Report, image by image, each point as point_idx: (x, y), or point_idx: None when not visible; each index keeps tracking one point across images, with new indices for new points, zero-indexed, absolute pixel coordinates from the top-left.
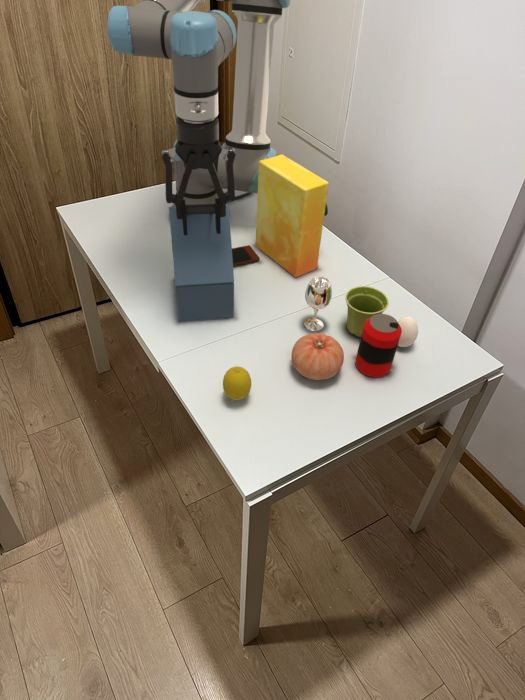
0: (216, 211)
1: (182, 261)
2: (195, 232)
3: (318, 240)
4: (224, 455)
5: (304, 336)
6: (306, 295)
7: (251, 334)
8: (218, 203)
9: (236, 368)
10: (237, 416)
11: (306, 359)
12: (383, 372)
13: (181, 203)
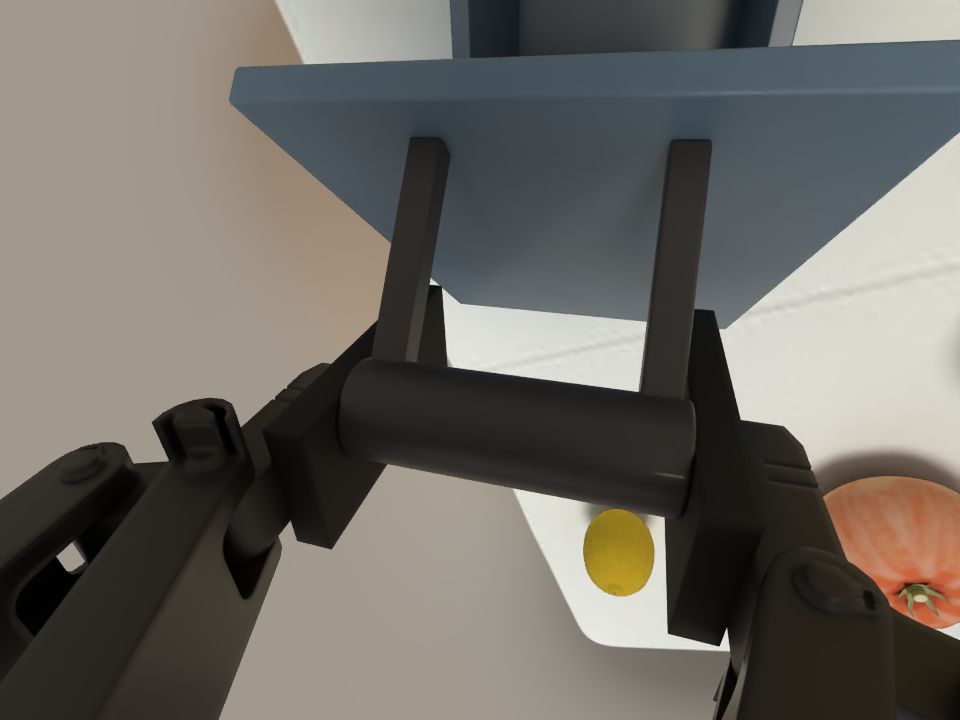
0: (667, 548)
1: (469, 277)
2: (524, 223)
3: None
4: (566, 595)
5: (892, 545)
6: None
7: (740, 340)
8: (707, 619)
9: (613, 590)
10: None
11: None
12: None
13: (274, 560)
